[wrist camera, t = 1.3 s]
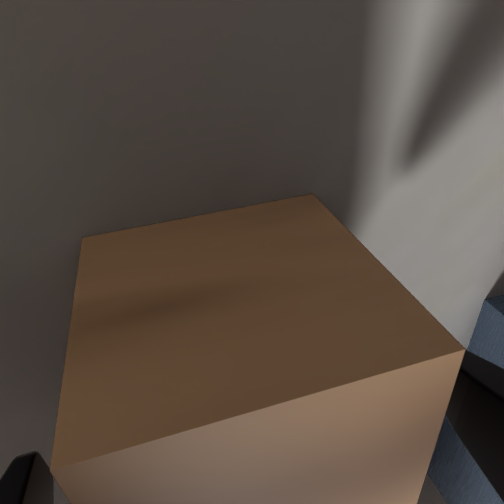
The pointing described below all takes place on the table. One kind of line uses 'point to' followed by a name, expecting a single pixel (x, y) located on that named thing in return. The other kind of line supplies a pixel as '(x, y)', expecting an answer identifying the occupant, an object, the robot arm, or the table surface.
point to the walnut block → (247, 366)
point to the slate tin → (448, 443)
